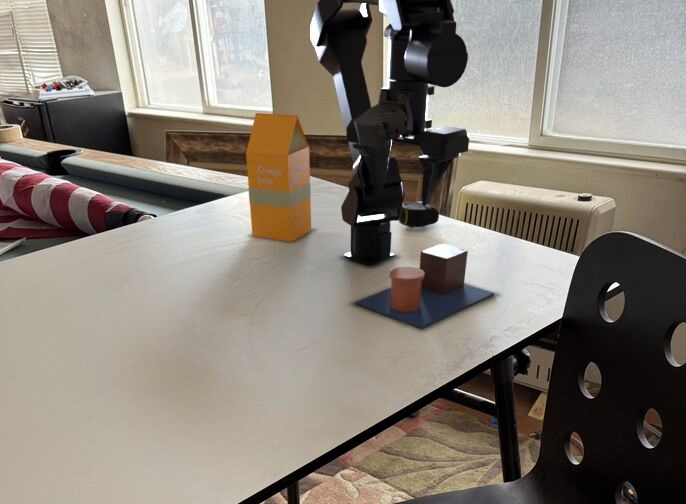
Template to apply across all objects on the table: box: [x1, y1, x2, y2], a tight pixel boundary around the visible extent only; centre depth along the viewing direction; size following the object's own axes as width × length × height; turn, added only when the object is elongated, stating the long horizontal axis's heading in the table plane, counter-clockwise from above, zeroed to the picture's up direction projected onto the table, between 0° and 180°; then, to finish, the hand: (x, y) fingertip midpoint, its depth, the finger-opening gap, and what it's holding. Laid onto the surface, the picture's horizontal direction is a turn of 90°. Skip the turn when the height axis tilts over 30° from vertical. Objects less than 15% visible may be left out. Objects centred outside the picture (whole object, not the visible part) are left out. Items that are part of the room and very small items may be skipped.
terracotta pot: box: [389, 266, 425, 312], centre depth 100 cm, size 5×5×5 cm
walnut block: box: [419, 243, 469, 295], centre depth 106 cm, size 5×5×6 cm
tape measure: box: [398, 200, 440, 229], centre depth 132 cm, size 7×7×4 cm
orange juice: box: [245, 112, 312, 243], centre depth 126 cm, size 8×9×20 cm
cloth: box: [354, 283, 495, 330], centre depth 104 cm, size 13×17×1 cm
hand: (401, 199), depth 104 cm, fingers open, 9 cm apart
